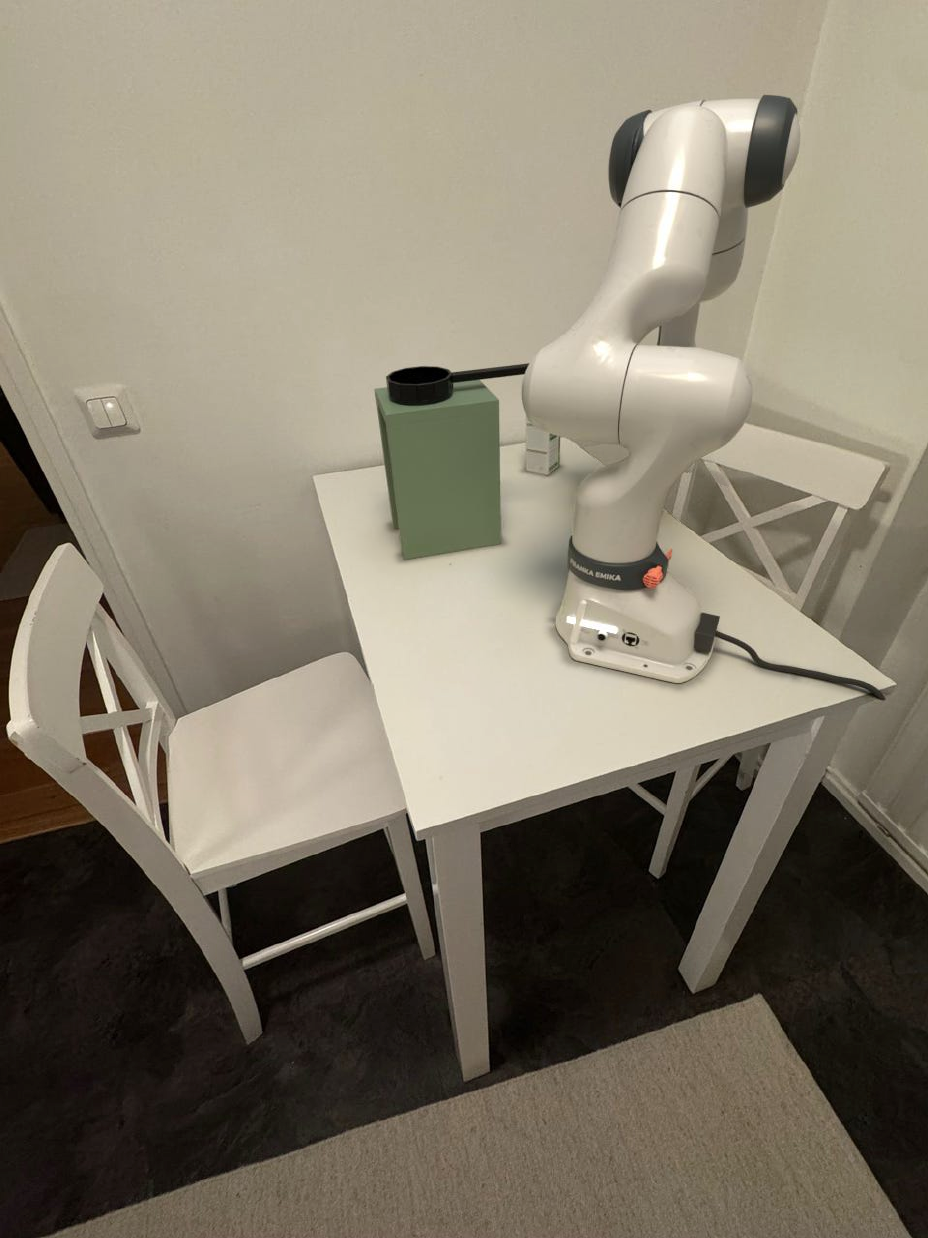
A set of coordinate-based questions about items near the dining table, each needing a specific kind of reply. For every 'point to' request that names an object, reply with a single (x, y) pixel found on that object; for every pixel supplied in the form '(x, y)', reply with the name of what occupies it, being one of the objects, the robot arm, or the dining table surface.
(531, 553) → the dining table surface
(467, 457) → the green hollow pedestal
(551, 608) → the dining table surface
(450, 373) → the pan
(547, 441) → the syrup box
